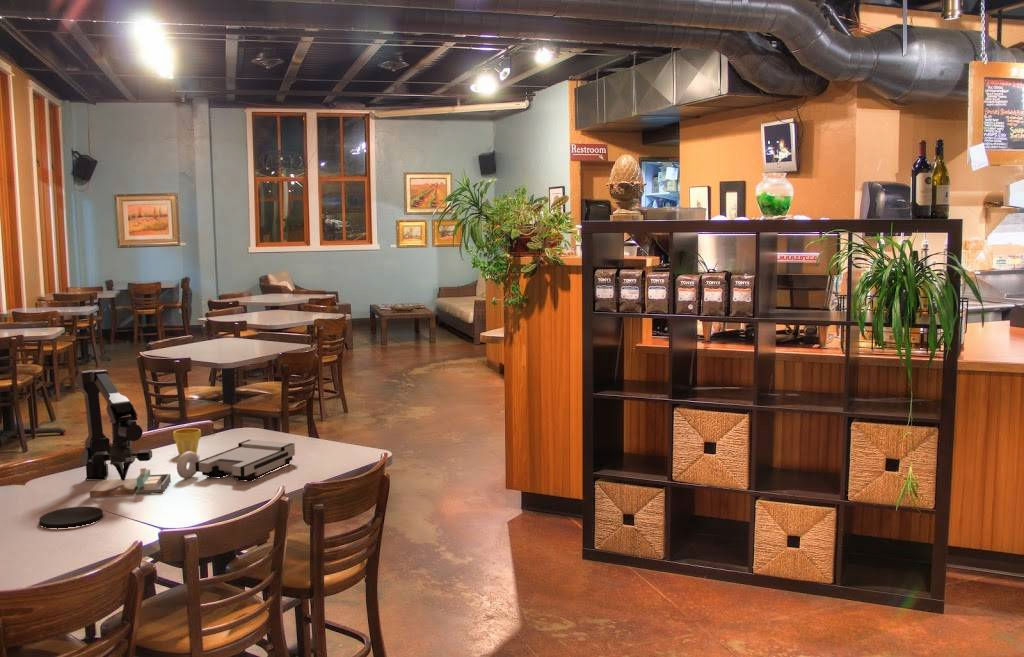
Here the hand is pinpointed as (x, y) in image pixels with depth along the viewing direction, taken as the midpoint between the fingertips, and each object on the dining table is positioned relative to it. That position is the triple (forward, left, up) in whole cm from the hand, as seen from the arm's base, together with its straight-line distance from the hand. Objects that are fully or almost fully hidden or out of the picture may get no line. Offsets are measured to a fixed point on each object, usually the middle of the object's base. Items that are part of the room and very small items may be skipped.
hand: (123, 480), depth 313 cm
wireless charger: (-8, -32, -4) cm, 33 cm away
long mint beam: (+7, 0, -1) cm, 7 cm away
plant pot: (+14, +48, -4) cm, 50 cm away
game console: (+40, +16, -4) cm, 43 cm away
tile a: (+10, -3, -3) cm, 10 cm away
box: (+10, 0, -3) cm, 10 cm away
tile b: (+10, +2, -3) cm, 10 cm away
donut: (+20, +11, -4) cm, 23 cm away
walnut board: (-2, 0, -3) cm, 4 cm away
